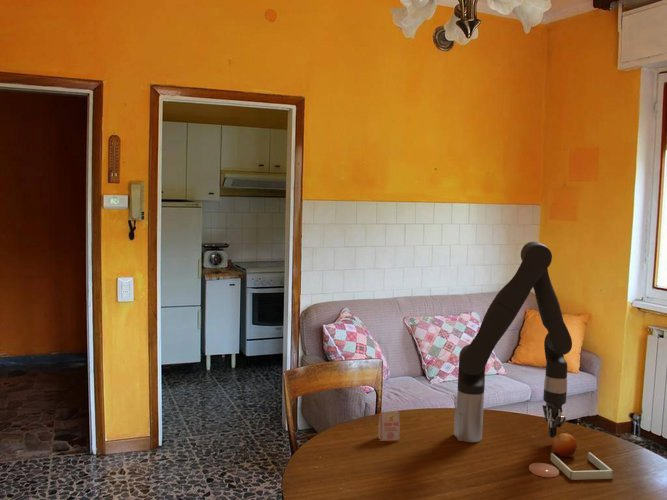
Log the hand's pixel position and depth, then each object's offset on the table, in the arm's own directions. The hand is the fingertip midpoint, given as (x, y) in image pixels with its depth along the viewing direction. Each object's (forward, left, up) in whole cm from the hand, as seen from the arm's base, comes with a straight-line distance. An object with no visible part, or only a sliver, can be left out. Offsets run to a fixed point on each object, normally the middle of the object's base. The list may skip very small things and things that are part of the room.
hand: (552, 436), depth 216 cm
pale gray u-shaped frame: (0, -20, -2) cm, 20 cm away
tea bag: (-57, +7, -3) cm, 57 cm away
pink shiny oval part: (-13, -20, -2) cm, 24 cm away
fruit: (0, -8, -3) cm, 9 cm away
